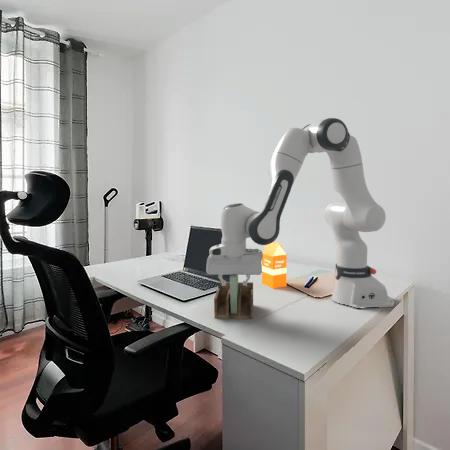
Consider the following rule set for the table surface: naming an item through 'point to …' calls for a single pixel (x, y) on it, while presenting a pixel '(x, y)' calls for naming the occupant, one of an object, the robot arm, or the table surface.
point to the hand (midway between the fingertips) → (234, 286)
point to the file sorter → (244, 301)
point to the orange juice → (274, 266)
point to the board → (234, 293)
